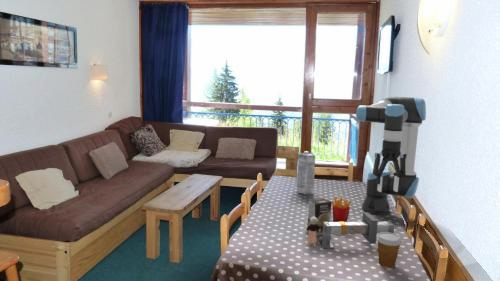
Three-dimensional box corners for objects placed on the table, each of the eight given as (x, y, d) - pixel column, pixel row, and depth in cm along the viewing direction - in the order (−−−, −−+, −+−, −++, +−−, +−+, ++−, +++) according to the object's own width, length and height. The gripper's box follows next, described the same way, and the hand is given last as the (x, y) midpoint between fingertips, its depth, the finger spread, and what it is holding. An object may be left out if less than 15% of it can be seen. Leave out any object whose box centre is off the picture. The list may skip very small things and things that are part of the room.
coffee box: (314, 237, 186) (316, 203, 183) (306, 232, 192) (308, 199, 189) (329, 234, 190) (332, 201, 188) (321, 229, 196) (323, 197, 193)
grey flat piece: (366, 234, 184) (368, 212, 183) (375, 243, 174) (377, 220, 172) (361, 234, 184) (362, 212, 182) (370, 243, 174) (372, 220, 172)
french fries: (337, 221, 207) (339, 193, 205) (351, 225, 202) (354, 197, 199) (328, 225, 201) (330, 196, 199) (342, 230, 195) (344, 200, 193)
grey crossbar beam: (389, 240, 185) (391, 219, 183) (397, 247, 177) (399, 226, 175) (317, 241, 181) (319, 220, 179) (323, 249, 173) (324, 227, 171)
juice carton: (313, 195, 252) (316, 153, 248) (297, 194, 252) (299, 152, 248) (311, 191, 261) (314, 150, 257) (295, 190, 261) (297, 150, 257)
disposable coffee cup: (370, 259, 165) (373, 231, 163) (392, 258, 166) (395, 231, 164) (380, 270, 156) (382, 241, 154) (403, 269, 157) (406, 241, 155)
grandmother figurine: (308, 246, 175) (309, 219, 173) (303, 243, 178) (304, 216, 176) (322, 243, 179) (323, 216, 177) (316, 240, 182) (318, 214, 180)
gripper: (409, 138, 177) (404, 188, 181) (366, 138, 175) (362, 188, 179) (418, 141, 170) (412, 193, 174) (373, 141, 168) (369, 193, 171)
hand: (387, 191), depth 176 cm, fingers open, 7 cm apart
